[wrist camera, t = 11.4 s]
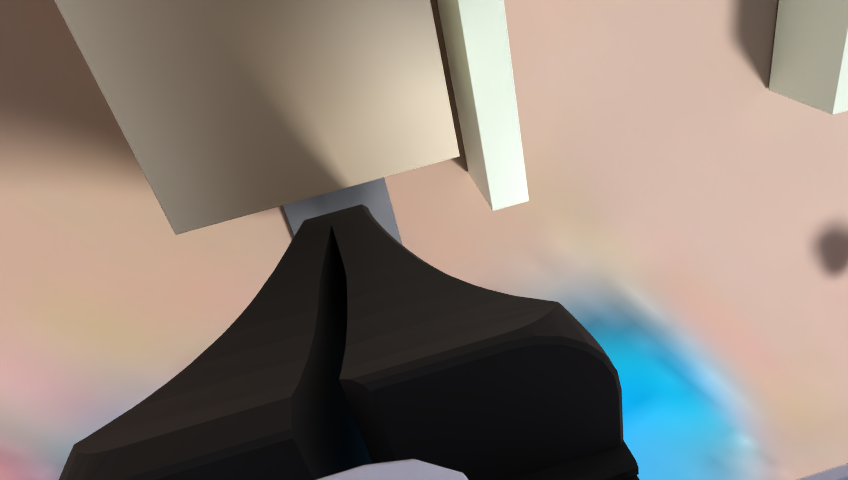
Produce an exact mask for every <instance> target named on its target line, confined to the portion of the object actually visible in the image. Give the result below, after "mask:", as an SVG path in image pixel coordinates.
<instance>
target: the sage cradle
mask: <svg viewBox="0 0 848 480" xmlns="http://www.w3.org/2000/svg"><path fill="white" fill-rule="evenodd" d="M437 4H438V9H439V15H440V20H441V26H442V31H443V37H444V42H445V47H446V53H447V58H448V64H449V69H450V75H451V80H452V85H453V91H454V96H455V102H456V107H457V113H458V118H459V123H460V129H461V134H462V140H463V145H464V150H465V156H466V161H467V167H468V172H469V175H470V176H471V178H472V179H473V181H474V182H475V184H476V186H477V187H478V189H479V190H480V192H481V193H482V195H483V196H484V198H485V199H486V201H487V202H488V204H489V206H490V207H491V209H492V210H493V211H494V210H498V209H501V208H505V207H508V206H512V205H515V204H519V203H522V202H526V201H529V198H528V190H527V182H526V174H525V166H524V158H523V150H522V142H521V134H520V126H519V119H518V111H517V103H516V95H515V87H514V79H513V71H512V63H511V55H510V47H509V39H508V31H507V23H506V16H505V8H504V0H437ZM769 90H770V91H773V92H775V93H778V94H780V95H783V96H786V97H788V98H791V99H793V100H796V101H798V102H801V103H804V104H806V105H809V106H811V107H814V108H817V109H819V110H822V111H824V112H827V113H829V114H832V115H833V114H837V113H840V112H844V111H847V110H848V0H779V4H778V13H777V22H776V30H775V39H774V48H773V57H772V66H771V74H770V83H769Z"/></svg>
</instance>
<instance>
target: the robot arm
mask: <svg viewBox="0 0 848 480" xmlns="http://www.w3.org/2000/svg"><path fill="white" fill-rule="evenodd" d="M637 475H638V465H637V463H636V460H635V458H634V457H633V455H632V453H631V452H630V450H629V449H628V447H627V445H626V444H625V442H624V440H623V419H622V391H621V385H620V381H619V377H618V372H617V370H616V369H615V367H614V366H613V364H612V362H611V361H610V359H609V357H608V356H607V354H606V353H605V351H604V350H603V349H602V347H601V346H600V345H599V344H598V342H597V341H596V340H595V339H594V338H593V336H592V335H591V334H590V333H589V332H588V331H587V330H586V329H585V328H584V327H583V326H582V325H581V324H580V323H579V322H578V321H577V320H576V319H575V318H574V317H573V316H572V315H571V314H570V313H569V312H568V311H567V310H566V309H565V308H564V307H563V306H562V305H561V304H560V303H558V302H554V301H547V300H540V299H533V298H526V297H519V296H513V295H508V294H504V293H500V292H496V291H492V290H488V289H485V288H482V287H478V286H475V285H472V284H470V283H467V282H465V281H462V280H459V279H457V278H454V277H452V276H450V275H447V274H445V273H443V272H442V271H440V270H438V269H436V268H434V267H433V266H431V265H429V264H428V263H426V262H424V261H423V260H421V259H420V258H418V257H417V256H416V255H414V254H413V253H412V252H410V251H409V250H407V249H406V248H405V247H404V246H402V245H401V244H400V243H399V242H398V241H397V240H395V239H394V238H393V237H392V236H391V235H390V234H389V233H388V232H387V231H386V230H385V229H384V228H383V227H382V226H381V225H380V224H379V223H378V222H377V221H376V220H375V218H374V217H373V216H372V214H371V213H370V211H369V208H368V207H366V206H364V205H362V204H360V205H357V206H353V207H349V208H346V209H342V210H339V211H335V212H331V213H328V214H324V215H321V216H317V217H314V218H310V219H306V220H304V221H303V223H302V224H301V226H300V228H299V229H298V231H297V233H296V234H295V236H294V238H293V240H292V241H291V243H290V245H289V247H288V248H287V250H286V252H285V254H284V255H283V257H282V259H281V260H280V262H279V263H278V265H277V267H276V268H275V270H274V271H273V273H272V274H271V276H270V277H269V278H268V280H267V281H266V283H265V284H264V285H263V287H262V288H261V290H260V291H259V293H258V294H257V295H256V297H255V298H254V299H253V301H252V302H251V303H250V304H249V306H248V307H247V308H246V309H245V310H244V311H243V313H242V314H241V315H240V316H239V317H238V318H237V319H236V320H235V322H234V323H233V324H232V325H231V326H230V327H229V328H228V329H227V330H226V331H225V332H224V333H223V334H222V335H221V336H220V337H219V338H218V339H217V340H216V341H215V342H214V343H213V344H212V345H211V346H209V347H208V348H207V349H206V350H205V351H204V352H203V353H202V354H201V355H200V356H199V357H197V358H196V359H195V360H194V361H193V362H192V363H191V364H190V365H189V366H187V367H186V368H185V369H184V370H183V371H181V372H180V373H179V374H178V375H176V376H175V377H174V378H173V379H171V380H170V381H169V382H168V383H166V384H165V385H164V386H162V387H161V388H160V389H158V390H157V391H155V392H154V393H153V394H151V395H150V396H149V397H147V398H146V399H145V400H143V401H142V402H140V403H139V404H137V405H136V406H135V407H133V408H132V409H130V410H129V411H127V412H125V413H124V414H122V415H121V416H119V417H118V418H116V419H114V420H113V421H111V422H110V423H108V424H107V425H105V426H104V427H102V428H100V429H99V430H97V431H96V432H94V433H93V434H91V435H89V436H88V437H86V438H85V439H83V440H81V441H79V442H78V443H76V444H74V446H73V448H72V450H71V452H70V455H69V457H68V459H67V462H66V464H65V466H64V469H63V471H62V474H61V476H60V478H59V480H639V478H638V477H637ZM797 480H848V463H847V464H844V465H841V466H838V467H835V468H831V469H828V470H825V471H822V472H819V473H816V474H813V475H810V476H806V477H803V478H800V479H797Z"/></svg>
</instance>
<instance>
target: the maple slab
mask: <svg viewBox="0 0 848 480" xmlns="http://www.w3.org/2000/svg"><path fill="white" fill-rule="evenodd" d="M54 1H55V3H56V5H57V7H58V9H59V10H60V12H61V14H62V16H63V18H64V20H65V22H66V24H67V26H68V28H69V30H70V32H71V34H72V36H73V38H74V39H75V41H76V43H77V45H78V47H79V49H80V51H81V53H82V55H83V57H84V59H85V61H86V63H87V65H88V66H89V68H90V70H91V72H92V74H93V76H94V78H95V80H96V82H97V84H98V86H99V88H100V90H101V92H102V94H103V95H104V97H105V99H106V101H107V103H108V105H109V107H110V109H111V111H112V113H113V115H114V117H115V119H116V121H117V123H118V124H119V126H120V128H121V130H122V132H123V134H124V136H125V138H126V140H127V142H128V144H129V146H130V148H131V150H132V152H133V153H134V155H135V157H136V159H137V161H138V163H139V165H140V167H141V169H142V171H143V173H144V175H145V177H146V179H147V180H148V182H149V184H150V186H151V188H152V190H153V192H154V194H155V196H156V198H157V200H158V202H159V204H160V206H161V208H162V209H163V211H164V213H165V215H166V217H167V219H168V221H169V223H170V225H171V227H172V229H173V231H174V233H175V235H177V234H181V233H184V232H188V231H191V230H195V229H199V228H202V227H206V226H210V225H213V224H217V223H220V222H224V221H228V220H231V219H235V218H238V217H242V216H246V215H249V214H253V213H256V212H260V211H264V210H267V209H271V208H275V207H278V206H282V205H285V204H289V203H293V202H296V201H300V200H304V199H307V198H311V197H314V196H318V195H322V194H325V193H329V192H332V191H336V190H340V189H343V188H347V187H351V186H354V185H358V184H361V183H365V182H369V181H372V180H376V179H379V178H383V177H387V176H390V175H394V174H398V173H401V172H405V171H408V170H412V169H416V168H419V167H423V166H426V165H430V164H434V163H437V162H441V161H445V160H448V159H452V158H455V157H459V156H460V155H459V150H458V144H457V139H456V134H455V129H454V123H453V118H452V113H451V107H450V102H449V97H448V92H447V86H446V81H445V76H444V71H443V65H442V60H441V55H440V50H439V44H438V39H437V34H436V29H435V23H434V18H433V13H432V8H431V2H430V0H54Z"/></svg>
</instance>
